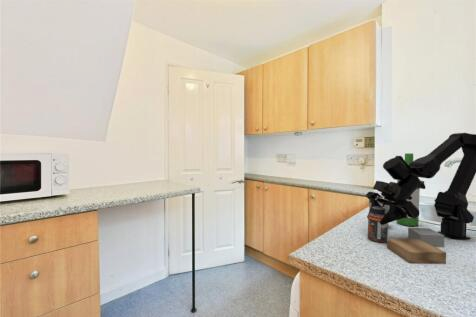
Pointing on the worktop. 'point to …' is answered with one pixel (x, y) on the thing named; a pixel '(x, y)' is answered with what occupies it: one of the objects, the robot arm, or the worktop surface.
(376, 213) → the supplement bottle
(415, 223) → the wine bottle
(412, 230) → the slate block
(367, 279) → the worktop surface
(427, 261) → the walnut block
